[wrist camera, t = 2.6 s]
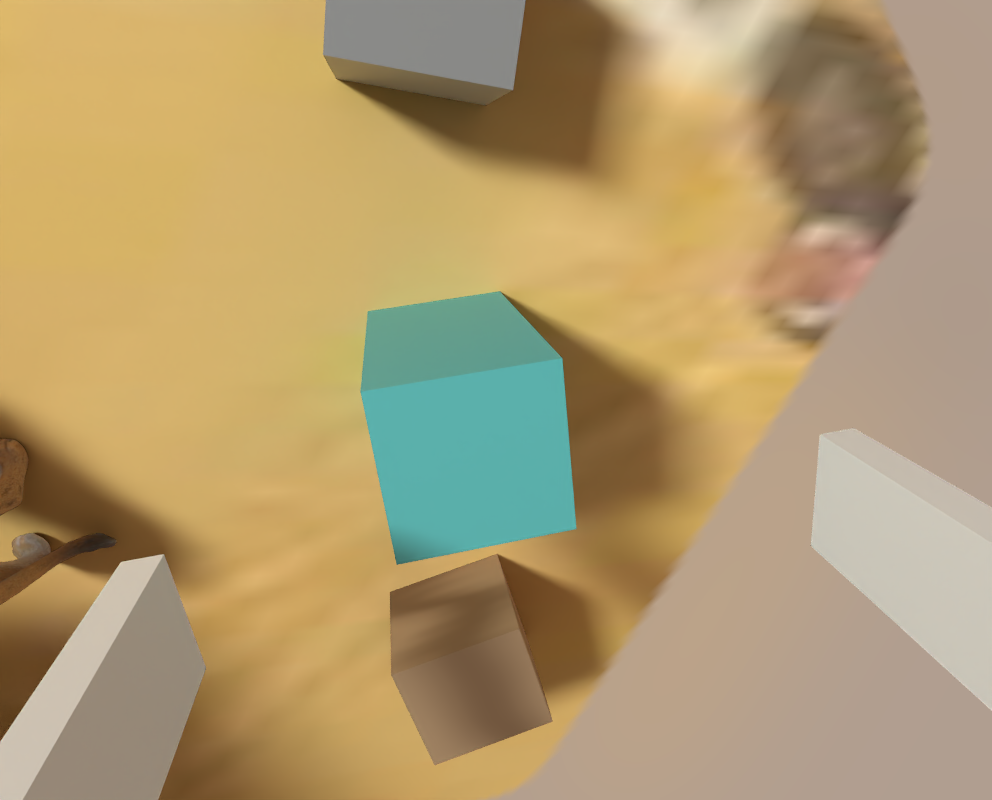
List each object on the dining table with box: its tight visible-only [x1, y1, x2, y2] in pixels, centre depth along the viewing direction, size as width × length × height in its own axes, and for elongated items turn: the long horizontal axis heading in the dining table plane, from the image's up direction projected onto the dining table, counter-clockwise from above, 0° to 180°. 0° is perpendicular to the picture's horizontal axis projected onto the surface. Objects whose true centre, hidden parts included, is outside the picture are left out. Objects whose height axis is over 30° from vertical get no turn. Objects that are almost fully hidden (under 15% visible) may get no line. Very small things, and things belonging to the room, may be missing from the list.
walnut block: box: [390, 554, 552, 765], centre depth 27 cm, size 5×5×5 cm
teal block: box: [361, 291, 576, 565], centre depth 21 cm, size 5×5×9 cm
